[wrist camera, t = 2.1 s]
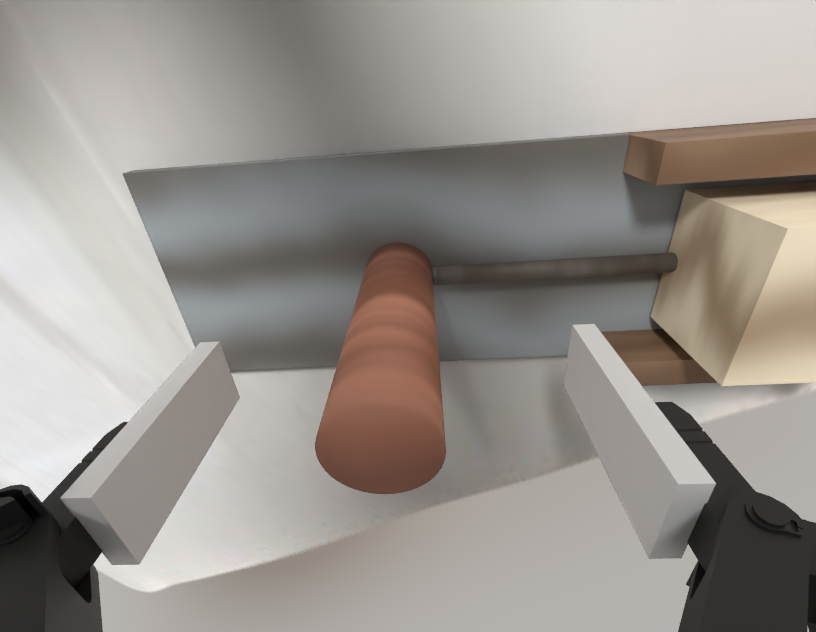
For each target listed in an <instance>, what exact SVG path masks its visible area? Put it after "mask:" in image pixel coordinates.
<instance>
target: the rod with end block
mask: <svg viewBox="0 0 816 632" xmlns="http://www.w3.org/2000/svg"><path fill="white" fill-rule="evenodd" d="M648 273H662V276H661V280H660V283H659V287H658V291H657V294H656V298H655V302H654V305H653V309H652V313H651V316H650V317H651V318H652V319H653V320H654V321H655V322H656V323H658V324H659V325H660V326H661V327H662V328H663V329H664V330H665V331H666V332H667V333H668V334H669V335H670V336H671V337H672V338H673V339H674V340H675V341H676V342H677V343H678V344H679V345H680V346H681V347H682V348H683V349H684V350H685V351H686V352H687V353H688V354H689V355H690V356H691V357H692V358H693V359H694V360H695V361H696V362H697V363H698V364H699V365H700V366H701V367H702V368H703V369H704V370H706V371H707V372H708V373H709V374H710V375H711V376H712V377H713V378H714V379H715V380H716V381H717V382H718V383H719V384H720V385H721V386H739V385H764V384H788V383H813V382H816V181H808V182H794V183H779V184H764V185H750V186H735V187H720V188H706V189H691V190H685V192H684V196H683V199H682V203H681V207H680V210H679V214H678V218H677V221H676V225H675V228H674V232H673V236H672V239H671V243H670V247H669V250H668V253H654V254H638V255H621V256H604V257H587V258H571V259H554V260H537V261H520V262H504V263H487V264H470V265H453V266H437V267H432V268H431V264H430V262H429V260H428V258H427V257H426V255H425V254H424V253H423V252H422V251H421V250H419V249H418V248H416V247H415V246H412V245H410V244H406V243H390V244H387V245H384V246H382V247H380V248H379V249H377V250H376V251H375V252H374V253H373V254H372V255H371V257H370V258H369V260H368V263H367V266H366V269H365V272H364V276H363V279H362V283H361V286H360V290H359V293H358V296H357V300H356V303H355V307H354V310H353V314H352V317H351V320H350V324H349V327H348V331H347V334H346V338H345V341H344V344H343V348H342V351H341V355H340V358H339V361H338V365H337V368H336V372H335V375H334V379H333V382H332V385H331V389H330V392H329V396H328V399H327V403H326V406H325V409H324V413H323V416H322V420H321V423H320V426H319V430H318V433H317V437H316V442H315V450H316V455H317V458H318V460H319V462H320V464H321V466H322V467H323V468H324V469H325V471H326V472H327V473H328V474H329V475H330V476H332V477H333V478H334V479H335V480H337V481H339V482H340V483H342V484H344V485H346V486H348V487H351V488H353V489H356V490H360V491H363V492H368V493H376V494H393V493H400V492H405V491H409V490H412V489H415V488H417V487H419V486H421V485H423V484H425V483H427V482H428V481H430V480H431V479H432V478H433V477H434V476H435V475H436V474H437V473H438V472H439V470H440V469H441V467H442V465H443V463H444V460H445V455H446V447H445V434H444V421H443V408H442V395H441V382H440V369H439V355H438V342H437V329H436V316H435V303H434V290H433V285H435V286H438V285H455V284H473V283H491V282H508V281H526V280H543V279H561V278H578V277H596V276H613V275H631V274H648Z"/></svg>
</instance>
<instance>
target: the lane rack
mask: <svg viewBox="0 0 816 632" xmlns="http://www.w3.org/2000/svg"><path fill="white" fill-rule="evenodd" d="M123 176H124V178H125V181H126V183H127V186H128V188H129V190H130V193H131V195H132V198H133V200H134V202H135V205H136V207H137V209H138V212H139V214H140V217H141V219H142V221H143V224H144V226H145V229H146V231H147V233H148V236H149V238H150V241H151V243H152V245H153V248H154V250H155V252H156V255H157V257H158V260H159V262H160V264H161V267H162V269H163V272H164V274H165V276H166V279H167V281H168V283H169V286H170V288H171V291H172V293H173V295H174V298H175V300H176V303H177V305H178V307H179V310H180V312H181V314H182V317H183V319H184V322H185V324H186V326H187V329H188V331H189V334H190V336H191V338H192V341H193V343H194V345H195V347H196V346H197V345H198V344H199V343H200V342H220V345H221V347H222V350H223V353H224V356H225V358H226V361H227V364H228V366H229V369H230V371H239V370H261V369H283V368H304V367H326V366H337V365H338V361H339V358H340V355H341V351H342V348H343V344H344V341H345V338H346V334H347V331H348V327H349V324H350V320H351V317H352V314H353V310H354V307H355V303H356V300H357V296H358V293H359V290H360V286H361V283H362V279H363V276H364V272H365V269H366V266H367V263H368V260H369V258H370V257H371V255H372V254H373V253H374V252H375V251H376V250H377V249H379V248H380V247H382V246H384V245H387V244H390V243H406V244H410V245H412V246H415V247H416V248H418V249H419V250H421V251H422V252H423V253H424V254H425V255H426V257H427V258H428V260H429V262H430V264H431V268H432V267H437V266H453V265H470V264H487V263H504V262H520V261H537V260H554V259H571V258H587V257H604V256H621V255H638V254H654V253H668V250H669V247H670V243H671V239H672V236H673V232H674V228H675V225H676V221H677V218H678V214H679V210H680V207H681V203H682V199H683V196H684V192H685V190H691V189H706V188H720V187H735V186H750V185H764V184H779V183H794V182H808V181H816V118H811V119H798V120H785V121H772V122H759V123H746V124H733V125H720V126H707V127H694V128H681V129H668V130H655V131H642V132H629V133H616V134H603V135H590V136H577V137H564V138H551V139H538V140H525V141H512V142H499V143H486V144H473V145H460V146H447V147H434V148H421V149H408V150H395V151H382V152H369V153H355V154H342V155H329V156H316V157H303V158H290V159H277V160H264V161H251V162H238V163H225V164H212V165H199V166H186V167H173V168H160V169H147V170H134V171H130V172H126V173H123ZM661 276H662V273H648V274H631V275H613V276H596V277H578V278H561V279H543V280H526V281H508V282H491V283H473V284H455V285H438V286H435V285H433V290H434V303H435V316H436V329H437V342H438V355H439V361H456V360H478V359H500V358H521V357H543V356H565V355H568V351H569V345H570V338H571V332H572V325H579V324H595V325H596V327H597V328H598V329H599V330H600V332H601V333H602V334H603V336H604V337H605V338H606V340H607V341H608V342H609V344H610V345H611V346H612V348H613V349H614V350H615V351H616V353H617V354H618V355H619V357H620V358H621V359H622V361H623V362H624V363H625V365H626V366H627V367H628V368H629V370H630V371H631V372H632V374H633V375H634V376H635V378H636V379H637V380H638V382H639V383H640V384H641V386H643V385H667V384H691V383H715V382H717V381H716V380H715V379H714V378H713V377H712V376H711V375H710V374H709V373H708V372H707V371H706V370H704V369H703V368H702V367H701V366H700V365H699V364H698V363H697V362H696V361H695V360H694V359H693V358H692V357H691V356H690V355H689V354H688V353H687V352H686V351H685V350H684V349H683V348H682V347H681V346H680V345H679V344H678V343H677V342H676V341H675V340H674V339H673V338H672V337H671V336H670V335H669V334H668V333H667V332H666V331H665V330H664V329H663V328H662V327H661V326H660V325H659V324H658V323H656V322H655V321H654V320H653V319H652V318H651V317H650V316H651V313H652V309H653V305H654V302H655V298H656V294H657V291H658V287H659V283H660V280H661Z"/></svg>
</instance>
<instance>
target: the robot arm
mask: <svg viewBox="0 0 816 632" xmlns="http://www.w3.org/2000/svg"><path fill="white" fill-rule="evenodd" d="M563 385H564V387H565V389H566V391H567V393H568V395H569V397H570V399H571V402H572V404H573V406H574V408H575V410H576V412H577V414H578V416H579V418H580V420H581V422H582V424H583V426H584V428H585V430H586V432H587V434H588V436H589V438H590V440H591V442H592V444H593V446H594V448H595V450H596V452H597V454H598V456H599V458H600V460H601V462H602V464H603V466H604V468H605V470H606V472H607V474H608V476H609V479H610V481H611V483H612V485H613V487H614V489H615V491H616V493H617V495H618V497H619V499H620V501H621V503H622V505H623V507H624V509H625V511H626V513H627V515H628V517H629V519H630V521H631V523H632V525H633V527H634V529H635V531H636V533H637V535H638V537H639V539H640V541H641V543H642V545H643V547H644V549H645V551H646V553H647V555H648V557H649V559H650V558H651V559H652V558H682V556H683V554H684V551H685V549H686V547H687V545H688V544H689V546H690V547H691V549H692V551H693V552H694V554H695V556H696V557H697V559H698V562H697V564H696V566H695V568H694V570H693V572H692V574H691V576H690V578H689V580H688V581H687V583H686V585H688V586H689V587H690V588H689V592H688V595H687V599H686V603H685V607H684V611H683V615H682V619H681V623H680V626H679V631H678V632H807V625H808V628H809V632H816V523H814V522H809V521H806V520H803V519H801V518H800V517H799V516H798V515H797V514H796V513H795V512H794V511H792V510H791V509H790V508H789V507H788V506H786V505H785V504H783V503H781V502H779V501H778V500H776V499H774V498H772V497H770V496H767V495H764V494H761V493H758V492H756V491H755V490H754V489H752V487H751V486H750V485H749V484H748V482H747V481H746V480H745V479H744V478H743V477H742V475H741V474H740V473H739V472H738V470H737V469H736V468H735V467H734V466H733V465H732V463H731V462H730V461H729V460H728V459H727V457H726V456H725V455H724V454H723V453H722V452H721V451H720V449H719V448H718V447H717V446H716V444H713V443H712V440H711V439H710V437H709V436H708V435H707V434H706V433H705V432H703V431H702V428H701V427H700V426H699V424H698V423H697V422H696V421H695V420H694V419H693V417H692V416H691V415H690V414H689V413H687V412H686V411H684V410H683V409H682V408H680V407H679V406H677V405H676V404H674V403H673V402H655V403H654V401H653V400H652V399H651V397H650V396H649V395H648V393H647V392H646V391H645V389H644V388H643V387H642V386H641V384H640V383H639V382H638V380H637V379H636V378H635V376H634V375H633V374H632V372H631V371H630V370H629V368H628V367H627V366H626V365H625V363H624V362H623V361H622V359H621V358H620V357H619V355H618V354H617V353H616V351H615V350H614V349H613V348H612V346H611V345H610V344H609V342H608V341H607V340H606V338H605V337H604V336H603V334H602V333H601V332H600V330H599V329H598V328H597V327H596V325H595V324H579V325H572V332H571V338H570V345H569V351H568V358H567V364H566V371H565V378H564V384H563ZM239 398H240V396H239V394H238V391H237V388H236V386H235V383H234V380H233V377H232V375H231V372H230V369H229V366H228V364H227V361H226V358H225V356H224V353H223V350H222V347H221V345H220V342H200V343H199V344H198V345H197V346H196V347H195V349H194V350H193V351H192V352H191V353H190V354H189V355H188V356H187V357H186V359H185V360H184V361H183V362H182V363H181V364H180V365H179V366H178V367H177V369H176V370H175V371H174V372H173V373H172V374H171V375H170V376H169V377H168V379H167V380H166V381H165V382H164V383H163V384H162V385H161V386H160V387H159V389H158V390H157V391H156V392H155V393H154V394H153V395H152V396H151V397H150V399H149V400H148V401H147V402H146V403H145V404H144V405H143V406H142V408H141V409H140V410H139V411H138V412H137V413H136V414H135V415H134V416H133V418H132V419H131V420H130V421H129V422H123V423H121V424H120V425H119V426H117V427H116V428H114V429H113V430H111V431H110V432H109V433H107V434H106V435H105V436H104V437H103V438H102V439H101V440H100V441H99V442H98V443H97V444H96V446H95V447H94V448H93V451H90V452H89V453H88V454H87V455H86V456H85V457H84V458H83V459H82V463H79V464H78V465H77V466H76V467H75V468H74V469H73V470H72V471H71V472H70V473H69V474H68V476H67V477H66V478H65V479H64V480H63V481H62V482H61V483H60V484H59V485H58V486H57V487H56V488H55V489H54V491H53V492H52V493H51V494H50V495H49V496H48V497H47V498H46V499H45V500H44V501H43V502H41V501H40V500H39V499H38V498H37V496H36V495H35V494H34V493H33V491H32V490H31V489H30V488H29V487H28V486H25V485H14V486H9V487H6V488H3V489H0V632H103V631H102V619H101V606H100V593H99V581H98V572H97V570H96V568H95V566H94V565H93V564H94V562H95V561H96V560H97V558H98V557H99V555H100V554H101V552H102V553H103V554H104V555H105V557H106V558H107V559H108V560H109V562H110V563H111V564H112V565H135V564H140V562H141V561H142V559H143V557H144V556H145V554H146V552H147V551H148V549H149V547H150V546H151V544H152V542H153V541H154V539H155V537H156V536H157V534H158V533H159V531H160V529H161V528H162V526H163V524H164V523H165V521H166V519H167V518H168V516H169V514H170V513H171V511H172V509H173V508H174V506H175V504H176V503H177V501H178V499H179V498H180V496H181V494H182V493H183V491H184V489H185V488H186V486H187V484H188V483H189V481H190V479H191V478H192V476H193V474H194V473H195V471H196V469H197V468H198V466H199V464H200V463H201V461H202V459H203V458H204V456H205V454H206V453H207V451H208V449H209V448H210V446H211V445H212V443H213V441H214V440H215V438H216V436H217V435H218V433H219V431H220V430H221V428H222V426H223V425H224V423H225V421H226V420H227V418H228V416H229V415H230V413H231V411H232V410H233V408H234V406H235V405H236V403H237V401H238V400H239Z"/></svg>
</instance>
